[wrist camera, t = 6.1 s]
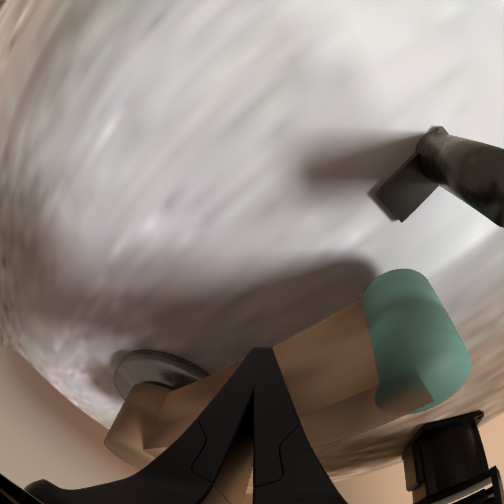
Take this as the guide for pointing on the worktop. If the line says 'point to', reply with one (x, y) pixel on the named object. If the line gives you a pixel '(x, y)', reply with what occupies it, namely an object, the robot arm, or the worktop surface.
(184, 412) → the capstan lever
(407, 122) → the worktop surface
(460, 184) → the dark grey pieces
